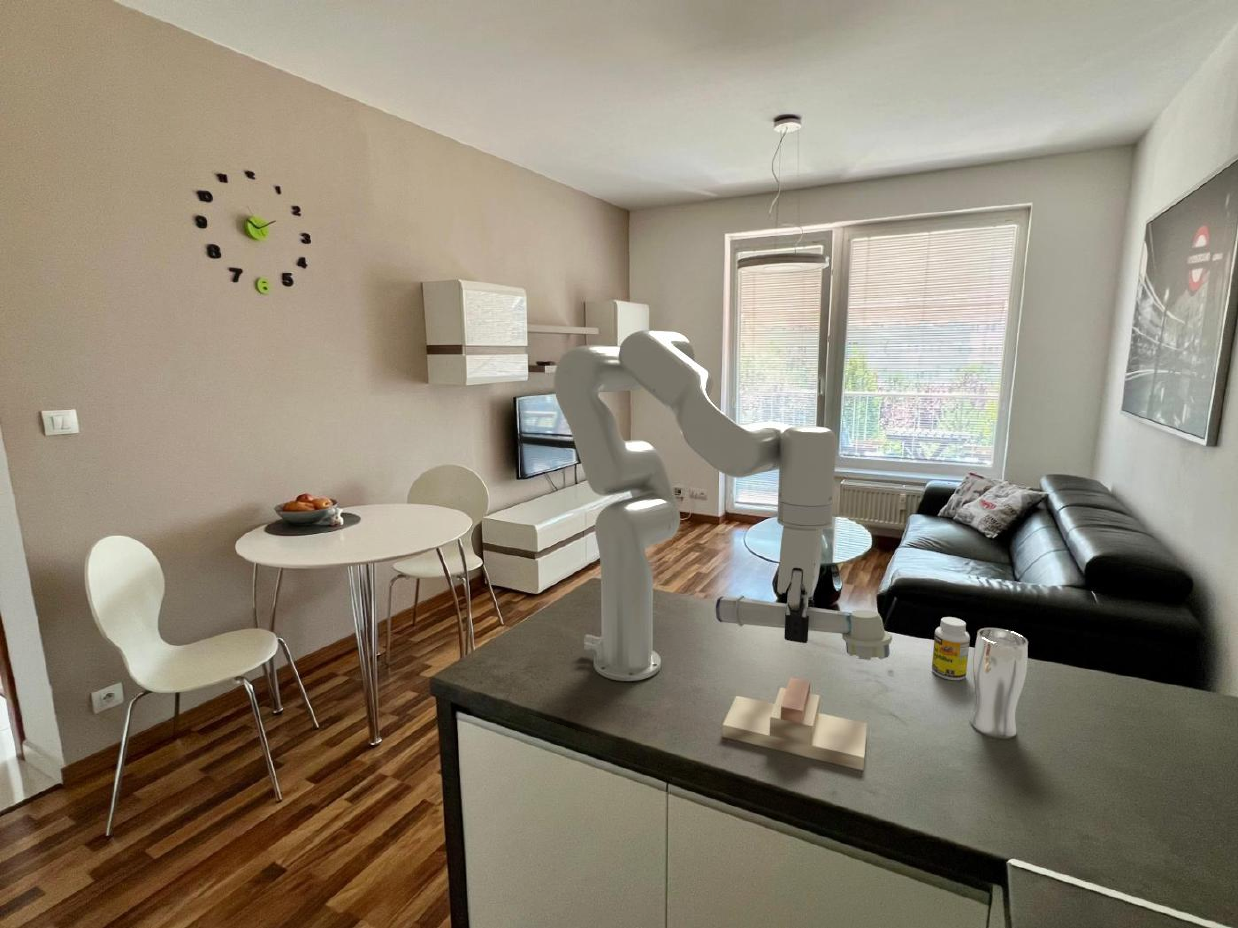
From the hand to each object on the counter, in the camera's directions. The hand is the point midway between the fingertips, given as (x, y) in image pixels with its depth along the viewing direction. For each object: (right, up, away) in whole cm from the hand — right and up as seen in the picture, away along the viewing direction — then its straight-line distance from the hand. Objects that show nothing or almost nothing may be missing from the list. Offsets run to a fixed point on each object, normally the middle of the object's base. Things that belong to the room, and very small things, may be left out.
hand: (798, 631), depth 92 cm
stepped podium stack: (0, -17, +3) cm, 17 cm away
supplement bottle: (+33, -14, +21) cm, 42 cm away
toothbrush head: (0, -1, 0) cm, 1 cm away
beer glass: (+32, -16, +5) cm, 36 cm away
